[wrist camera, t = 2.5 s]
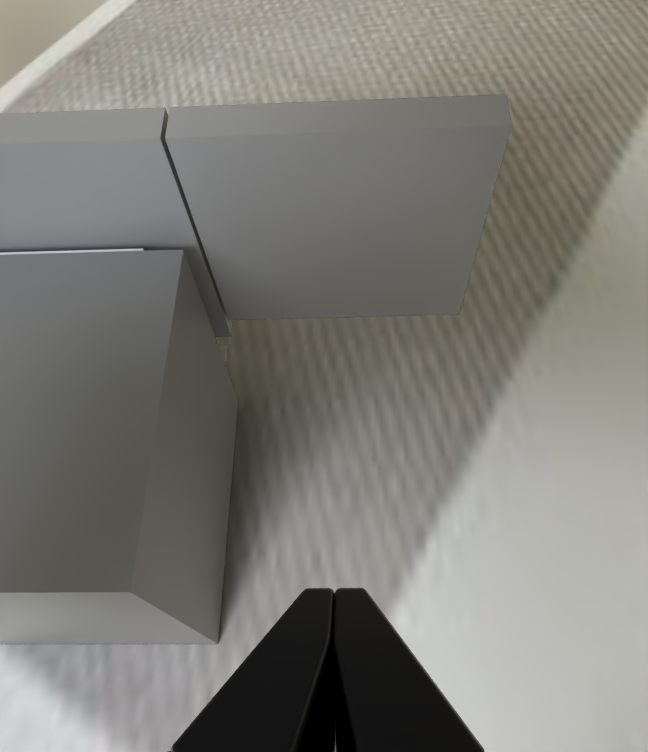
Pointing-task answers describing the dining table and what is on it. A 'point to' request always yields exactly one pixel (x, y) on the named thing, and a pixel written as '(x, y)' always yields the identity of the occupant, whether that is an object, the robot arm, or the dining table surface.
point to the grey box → (111, 450)
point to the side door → (269, 198)
